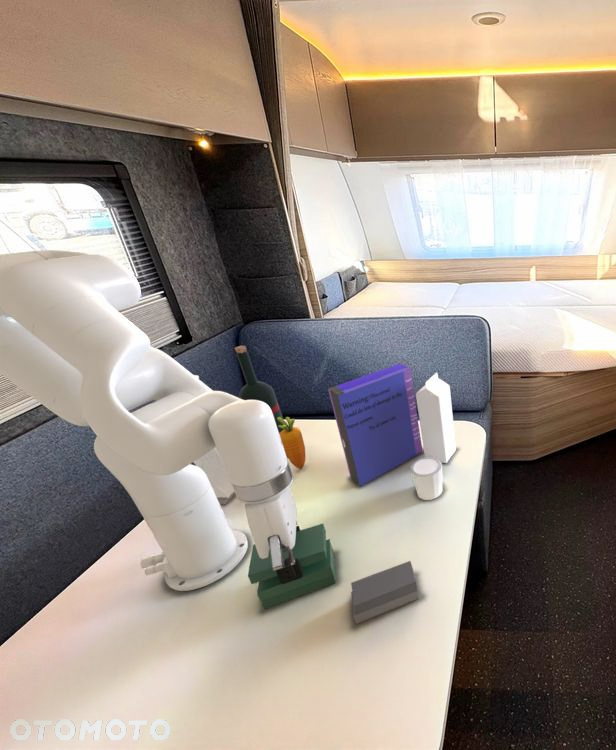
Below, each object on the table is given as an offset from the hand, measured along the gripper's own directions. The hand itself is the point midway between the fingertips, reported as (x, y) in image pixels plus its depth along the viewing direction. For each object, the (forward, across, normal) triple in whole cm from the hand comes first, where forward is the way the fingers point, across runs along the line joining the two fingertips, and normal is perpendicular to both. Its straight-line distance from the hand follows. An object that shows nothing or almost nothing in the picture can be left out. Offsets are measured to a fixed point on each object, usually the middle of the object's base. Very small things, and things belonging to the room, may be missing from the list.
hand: (293, 561), depth 65 cm
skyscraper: (+5, -33, -17) cm, 37 cm away
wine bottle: (+5, -45, -8) cm, 46 cm away
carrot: (+5, -34, -1) cm, 34 cm away
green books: (+5, 0, 0) cm, 5 cm away
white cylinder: (+5, -12, +26) cm, 29 cm away
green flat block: (-1, 0, 0) cm, 1 cm away
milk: (+5, -24, +32) cm, 40 cm away
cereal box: (+5, -26, +19) cm, 32 cm away
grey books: (+4, +10, +13) cm, 17 cm away
